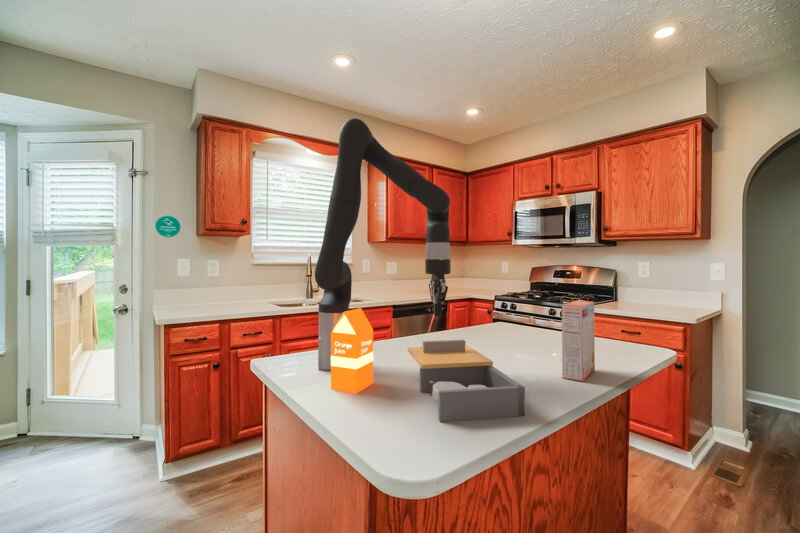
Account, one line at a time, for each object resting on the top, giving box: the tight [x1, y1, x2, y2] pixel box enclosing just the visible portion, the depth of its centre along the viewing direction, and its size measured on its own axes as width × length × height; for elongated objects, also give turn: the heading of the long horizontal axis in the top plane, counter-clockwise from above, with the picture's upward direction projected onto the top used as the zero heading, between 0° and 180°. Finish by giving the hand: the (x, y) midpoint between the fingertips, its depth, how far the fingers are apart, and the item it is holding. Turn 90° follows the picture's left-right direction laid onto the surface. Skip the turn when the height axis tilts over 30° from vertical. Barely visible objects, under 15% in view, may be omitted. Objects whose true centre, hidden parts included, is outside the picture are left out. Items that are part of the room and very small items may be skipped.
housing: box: [419, 365, 526, 423], centre depth 85 cm, size 18×18×6 cm
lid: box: [407, 339, 494, 369], centre depth 101 cm, size 18×18×4 cm
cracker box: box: [561, 300, 596, 383], centre depth 107 cm, size 14×6×21 cm, turn 141°
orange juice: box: [330, 308, 374, 394], centre depth 97 cm, size 8×9×20 cm
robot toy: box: [429, 381, 488, 404], centre depth 84 cm, size 12×4×15 cm
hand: (437, 316), depth 110 cm, fingers closed
